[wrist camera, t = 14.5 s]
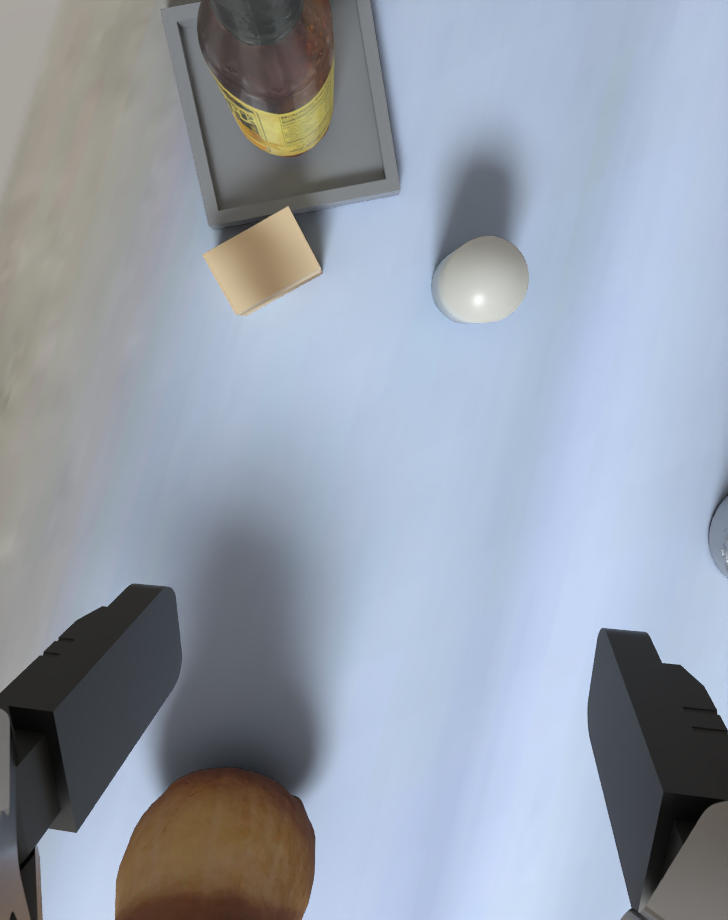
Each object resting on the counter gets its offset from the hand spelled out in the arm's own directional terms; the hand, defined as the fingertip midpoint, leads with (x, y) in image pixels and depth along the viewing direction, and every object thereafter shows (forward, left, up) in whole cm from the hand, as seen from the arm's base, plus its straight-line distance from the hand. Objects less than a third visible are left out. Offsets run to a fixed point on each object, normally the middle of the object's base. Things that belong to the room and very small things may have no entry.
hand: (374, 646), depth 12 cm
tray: (0, -20, -34) cm, 39 cm away
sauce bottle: (0, -20, -33) cm, 39 cm away
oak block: (+4, -11, -34) cm, 35 cm away
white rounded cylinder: (-10, -7, -34) cm, 36 cm away
